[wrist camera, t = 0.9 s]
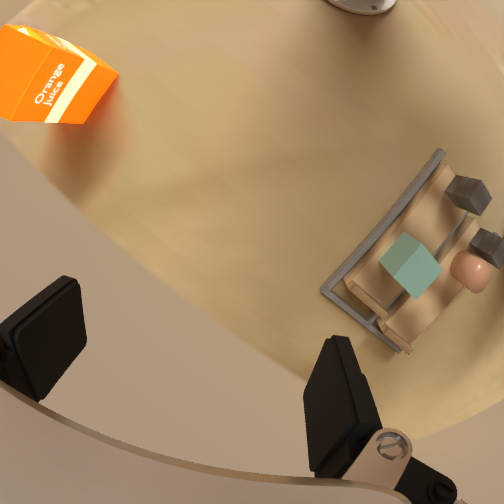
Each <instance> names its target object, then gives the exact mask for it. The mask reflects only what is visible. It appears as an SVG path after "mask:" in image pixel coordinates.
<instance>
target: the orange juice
mask: <svg viewBox="0 0 504 504" xmlns="http://www.w3.org/2000/svg"><path fill="white" fill-rule="evenodd" d="M118 75H119V73H117V72H116V71H115V70H113V69H112V68H111V67H109V66H108V65H107V64H106V63H104V62H103V61H102V60H100V59H99V58H98V57H96V56H95V55H94V54H92V53H91V52H89V51H87V50H85V49H83V48H80V47H78V46H76V45H74V44H71V43H69V42H67V41H65V40H63V39H60V38H58V37H54V36H52V35H49V34H47V33H44V32H41V31H39V30H36V29H33V28H31V27H28V26H18V25H3V27H2V28H1V30H0V117H2V118H5V119H8V120H10V121H35V122H51V123H58V122H60V123H75V124H83V123H84V122H85V120H86V119H87V117H88V116H89V114H90V113H91V111H92V110H93V108H94V107H95V105H96V104H97V103H98V101H99V100H100V98H101V97H102V96H103V94H104V93H105V92H106V90H107V89H108V88H109V86H110V85H111V84H112V82H113V81H114V80H115V78H116V77H117V76H118Z"/></svg>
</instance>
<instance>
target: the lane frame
mask: <svg viewBox="0 0 504 504" xmlns="http://www.w3.org/2000/svg"><path fill="white" fill-rule="evenodd" d="M445 154H446V152H445V151H444V150H443V149H437V151H436V152H435V153H434V155H433V156H432V157H431V159H430V160H429V161H428V162H427V164H426V165H425V166H424V168H423V169H422V170H421V172H420V173H419V174H418V175H417V177H416V178H415V179H414V181H413V182H412V183H411V184H410V186H409V187H408V188H407V189H406V191H405V192H404V193H403V194H402V196H401V197H400V198H399V199H398V200H397V202H396V203H395V204H394V205H393V206H392V208H391V209H390V210H389V211H388V212H387V214H386V215H385V216H384V217H383V218H382V220H381V221H380V222H379V223H378V224H377V225H376V227H375V228H374V229H373V230H372V231H371V232H370V233H369V235H368V236H367V237H366V238H365V239H364V240H363V241H362V243H361V244H360V245H359V246H358V247H357V248H356V249H355V250H354V252H353V253H352V254H351V255H350V256H349V257H348V258H347V259H346V260H345V261H344V263H343V264H342V265H341V266H340V267H339V268H338V269H337V270H336V271H335V272H334V273H333V274H332V275H331V276H330V278H329V279H328V280H327V281H326V282H325V283H324V284H323V285H322V286H321V287H320V290H321V292H322V293H323V294H325V295H326V296H327V297H328V298H330V299H331V300H332V301H333V302H335V303H336V304H337V305H338V306H340V307H341V308H342V309H343V310H345V311H346V312H347V313H348V314H350V315H351V316H352V317H353V318H355V319H356V320H357V321H358V322H360V323H361V324H362V325H363V326H365V327H366V328H367V329H368V330H370V331H371V332H372V333H373V334H375V335H376V336H377V337H378V338H380V339H381V340H382V341H383V342H385V343H386V344H387V345H388V346H390V347H391V348H392V349H393V350H395V351H396V352H397V353H398V354H399V353H400V352H401V351H402V349H401V348H400V347H399V346H397V345H396V344H395V343H394V342H393V341H391V340H390V339H389V338H388V337H387V336H385V335H384V334H383V332H382V331H381V330H380V329H379V328H377V327H376V326H375V325H374V324H373V322H374V321H375V320H376V319H377V318H378V317H379V315H378V314H376V313H375V312H374V311H373V310H372V311H371V312H370V313H369V314H368V315H367V316H366V317H364V316H363V315H362V314H360V313H359V312H358V311H357V310H356V309H354V308H353V307H352V306H351V305H349V304H348V303H347V302H346V301H345V300H343V299H342V298H341V297H340V296H338V295H337V294H336V293H335V292H333V291H332V290H331V289H332V288H333V287H334V286H335V285H336V284H337V283H338V282H339V280H340V279H341V278H342V277H343V276H344V275H345V274H346V273H347V272H348V271H349V270H350V269H351V268H352V267H353V266H354V264H355V263H356V262H357V261H358V260H359V259H360V258H361V257H362V256H363V255H364V253H365V252H366V251H367V250H368V249H369V248H370V247H371V246H372V244H373V243H374V242H375V241H376V240H377V239H378V238H379V236H380V235H381V234H382V233H383V232H384V231H385V230H386V228H387V227H388V226H389V225H390V224H391V222H392V221H393V220H394V219H395V218H396V217H397V215H398V214H399V213H400V212H401V210H402V209H403V208H404V207H405V206H406V204H407V203H408V202H409V201H410V199H411V198H412V197H413V196H414V194H415V193H416V192H417V191H418V189H419V188H420V187H421V186H422V184H423V183H424V182H425V180H426V179H427V178H428V176H429V175H430V174H431V173H432V171H433V170H434V169H435V167H436V166H437V165H438V163H439V162H440V160H441V159H442V158H443V156H444V155H445ZM467 213H468V211H466V212H465V214H464V215H463V216H462V218H461V219H460V220H459V222H458V223H457V225H456V226H455V227H454V228H453V230H452V231H451V232H450V234H449V235H448V236H447V237H446V239H445V240H444V241H443V243H442V244H441V245H440V246H439V247H438V249H437V250H436V251H435V252H434V254H433V255H432V256H433V257H434V256H435V255H436V254H437V252H438V251H439V250H440V249H441V248H442V246H443V245H444V244H445V243H446V241H447V240H448V239H449V237H450V236H451V235H452V234H453V232H454V231H455V230H456V228H457V227H458V226H459V224H460V223H461V222H462V220H463V219H464V218H465V216H466V215H467ZM493 234H495V235H497V236H499V234H497V233H495V232H494V233H493ZM499 237H500V236H499ZM404 290H405V288H403V289H402V290H401V291H400V292H399V293H398V294H397V295H396V296H395V297H394V298H393V299H392V301H391V302H390V303H389V304H388V305H387V306H386V307H385V310H386V309H387V308H388V307H389V306H390V305H391V304H392V303H393V302H394V301H395V300H396V299H397V298H398V297H399V296H400V294H401V293H402V292H403V291H404Z"/></svg>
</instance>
